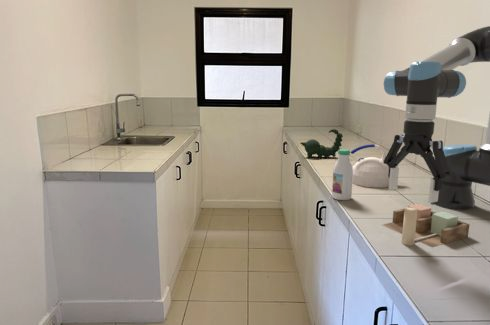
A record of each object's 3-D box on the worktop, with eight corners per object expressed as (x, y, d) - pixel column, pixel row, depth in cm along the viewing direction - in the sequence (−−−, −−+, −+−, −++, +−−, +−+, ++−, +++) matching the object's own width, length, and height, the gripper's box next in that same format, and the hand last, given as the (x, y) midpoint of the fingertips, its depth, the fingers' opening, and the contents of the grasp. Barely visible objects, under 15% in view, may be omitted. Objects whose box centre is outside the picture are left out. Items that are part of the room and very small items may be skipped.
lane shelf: (415, 218, 131) (416, 205, 130) (467, 238, 115) (469, 224, 114) (381, 226, 124) (382, 213, 123) (432, 249, 108) (433, 234, 107)
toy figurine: (338, 158, 238) (298, 154, 240) (342, 129, 233) (302, 125, 236) (339, 162, 229) (298, 157, 231) (344, 131, 224) (302, 126, 227)
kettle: (398, 189, 167) (401, 148, 163) (349, 186, 171) (352, 147, 167) (390, 177, 186) (393, 141, 182) (347, 175, 190) (349, 140, 186)
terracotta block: (416, 220, 128) (418, 203, 127) (429, 225, 124) (431, 208, 122) (406, 222, 126) (407, 205, 124) (418, 228, 121) (420, 210, 120)
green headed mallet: (440, 231, 120) (444, 198, 118) (455, 236, 116) (459, 202, 114) (396, 243, 112) (399, 207, 110) (410, 249, 108) (414, 213, 105)
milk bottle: (348, 194, 158) (350, 148, 154) (353, 200, 151) (356, 151, 147) (329, 195, 158) (332, 148, 154) (334, 201, 151) (337, 151, 146)
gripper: (374, 116, 112) (369, 185, 116) (453, 125, 90) (442, 210, 94) (393, 115, 115) (387, 183, 120) (472, 124, 93) (462, 205, 98)
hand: (411, 195), depth 107 cm, fingers open, 13 cm apart
